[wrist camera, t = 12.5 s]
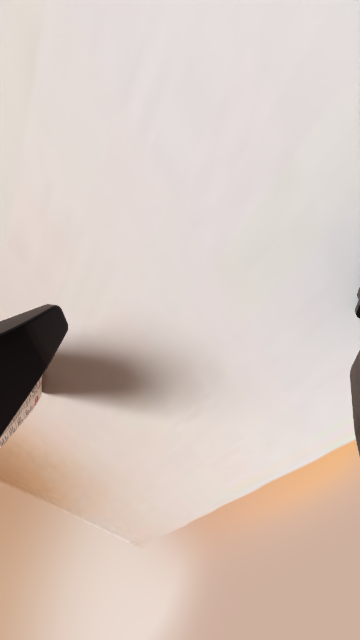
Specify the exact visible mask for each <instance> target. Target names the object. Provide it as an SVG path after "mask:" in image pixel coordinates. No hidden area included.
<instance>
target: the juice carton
mask: <svg viewBox="0 0 360 640" xmlns="http://www.w3.org/2000/svg"><path fill="white" fill-rule="evenodd" d="M42 376H43V375H42ZM41 394H42V377H41V378H40V379H39V381H38V382H37V384H36V385H35V387H34V388H33V390H32V391H31V393H30V394H29V396H28V397H27V399H26V400H25V402H24V403H23V405H22V406H21V408H20V409H19V411H18V412H17V414H16V415H15V417H14V418H13V419H12V421H11V422H10V424H9V425H8V427H7V428H6V430H5V431H4V433H3V434H2V436H1V437H0V448H1V447H2V446H3V445H4V444H5V442H6V441H7V440H8V439H9V438H10V436H11V435H12V434H13V433H14V432H15V430H16V429H17V428H18V427H19V426H20V424H21V423H22V422H23V421H24V420H25V418H26V417H27V416H28V415H29V414H30V412H31V411H32V410H33V408H34V407H35V405H36V404H37V402H38V400H39V398H40V397H41Z"/></svg>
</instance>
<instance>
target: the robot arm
mask: <svg viewBox="0 0 360 640" xmlns="http://www.w3.org/2000/svg"><path fill="white" fill-rule="evenodd" d="M357 297H358V299H359V301H358V304H357V306H356V308H355V313H356V315H357V317H358V318H360V288H359V291H358V293H357ZM67 331H68V323H67V321H66V318H65V316H64V314H63V311H62V309H61V308H60V307H59V306H57V305H51V304H46V305H43V306H41V307H38V308H35V309H33V310H30V311H27V312H25V313H22V314H19V315H16V316H14V317H11V318H8V319H6V320H3V321H0V437H1V436H2V434H3V433H4V431H5V430H6V428H7V427H8V425H9V424H10V422H11V421H12V419H13V418H14V417H15V415H16V414H17V412H18V411H19V409H20V408H21V406H22V405H23V403H24V402H25V400H26V399H27V397H28V396H29V394H30V393H31V391H32V390H33V388H34V387H35V385H36V384H37V382H38V381H39V379H40V378H41V377H42V375H43V374H44V372H45V370H46V369H47V367H48V366H49V364H50V362H51V360H52V358H53V357H54V355H55V353H56V351H57V349H58V347H59V346H60V344H61V342H62V340H63V338H64V336H65V335H66V333H67ZM350 382H351V394H352V406H353V418H354V429H355V436H356V441H357V446H358V451H359V455H360V351H359V353H358V355H357V357H356V359H355V361H354V363H353V365H352V367H351V371H350Z"/></svg>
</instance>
